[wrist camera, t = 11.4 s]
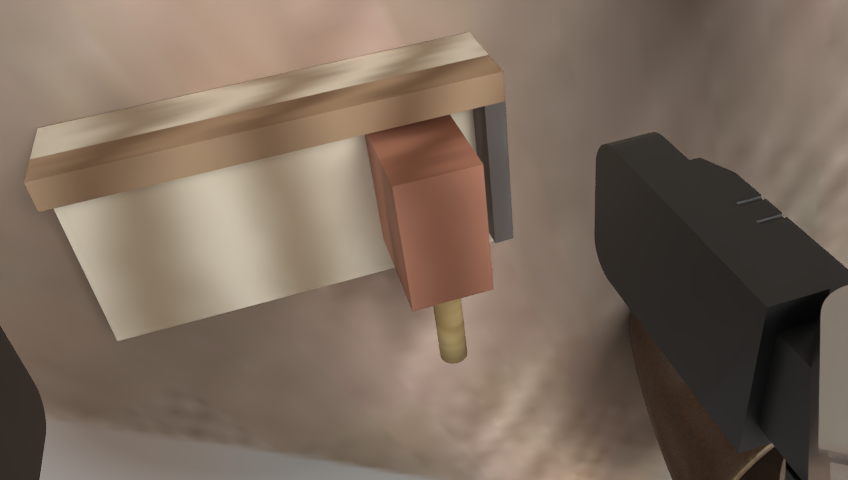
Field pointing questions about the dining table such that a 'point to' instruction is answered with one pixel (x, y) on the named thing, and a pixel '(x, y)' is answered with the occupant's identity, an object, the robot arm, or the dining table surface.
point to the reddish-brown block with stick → (434, 220)
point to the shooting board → (256, 181)
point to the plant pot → (691, 423)
